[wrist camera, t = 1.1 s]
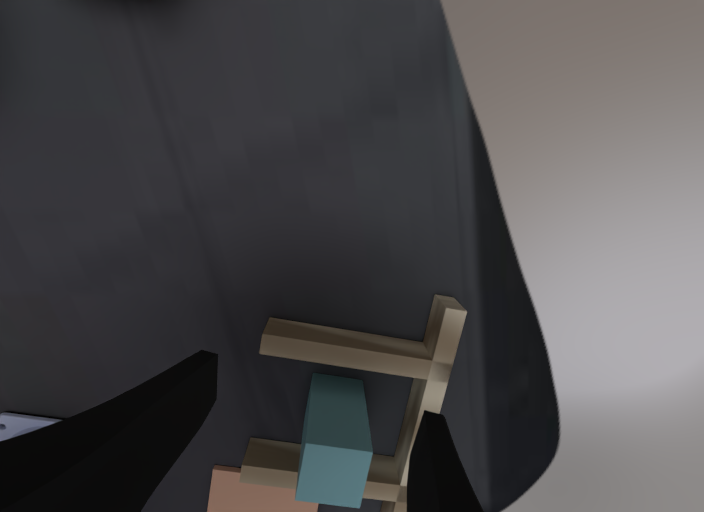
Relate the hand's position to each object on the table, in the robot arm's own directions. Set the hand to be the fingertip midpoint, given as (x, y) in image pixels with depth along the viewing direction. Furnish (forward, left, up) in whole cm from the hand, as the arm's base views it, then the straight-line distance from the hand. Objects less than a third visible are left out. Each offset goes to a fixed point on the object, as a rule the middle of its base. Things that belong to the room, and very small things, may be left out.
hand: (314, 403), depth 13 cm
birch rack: (-10, -3, -16) cm, 19 cm away
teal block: (-10, -2, -16) cm, 19 cm away
